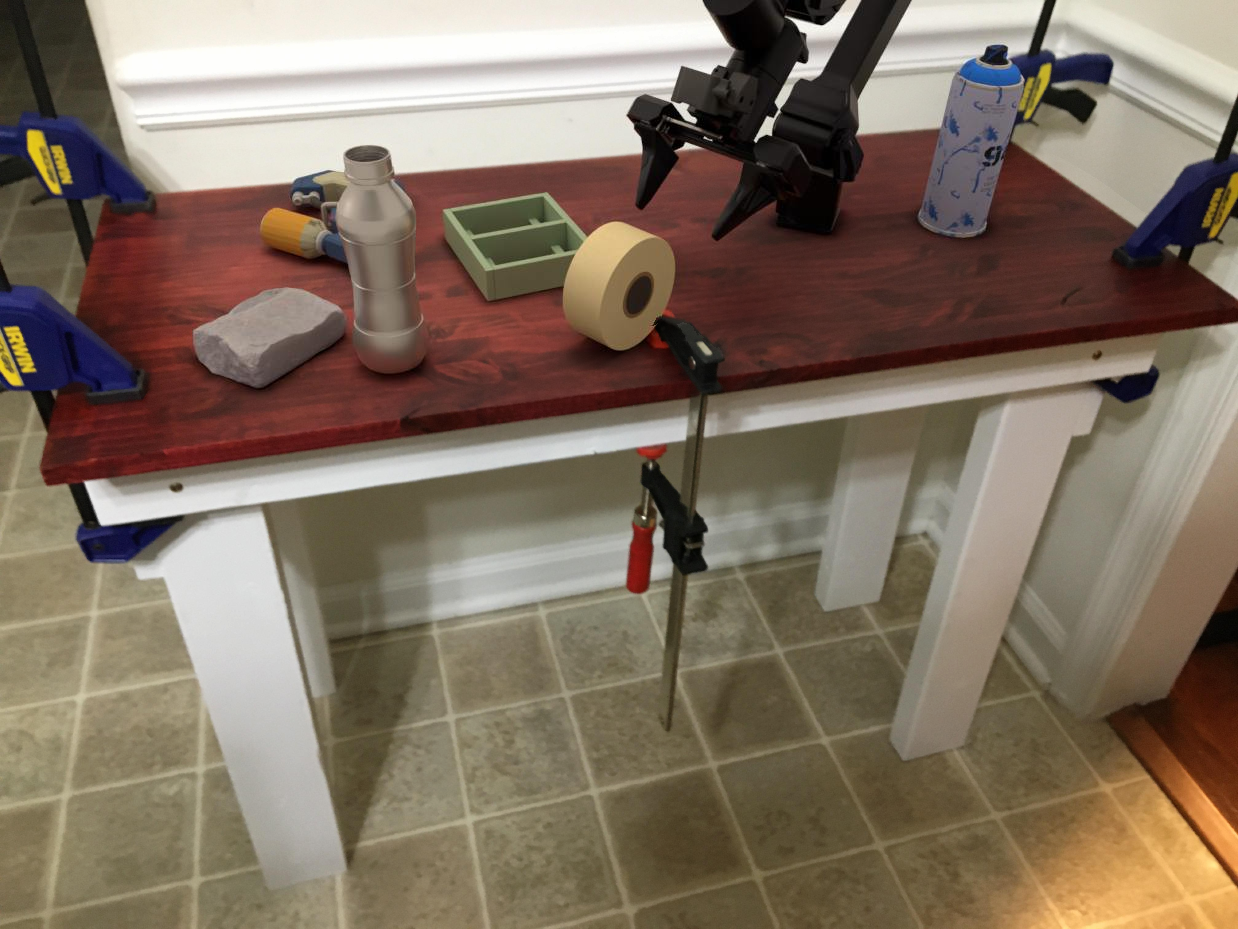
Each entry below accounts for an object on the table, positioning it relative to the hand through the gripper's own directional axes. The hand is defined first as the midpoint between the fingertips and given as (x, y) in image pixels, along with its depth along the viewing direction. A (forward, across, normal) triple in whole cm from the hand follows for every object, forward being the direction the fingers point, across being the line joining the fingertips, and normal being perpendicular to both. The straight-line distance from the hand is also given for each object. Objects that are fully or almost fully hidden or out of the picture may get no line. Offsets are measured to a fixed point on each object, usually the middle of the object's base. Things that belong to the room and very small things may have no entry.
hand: (675, 223), depth 97 cm
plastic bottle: (+24, -12, -12) cm, 30 cm away
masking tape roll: (+8, 0, -3) cm, 9 cm away
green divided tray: (+9, -18, +4) cm, 20 cm away
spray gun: (+16, -36, -3) cm, 40 cm away
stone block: (+29, -23, -16) cm, 40 cm away
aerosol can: (-20, +13, +33) cm, 41 cm away
